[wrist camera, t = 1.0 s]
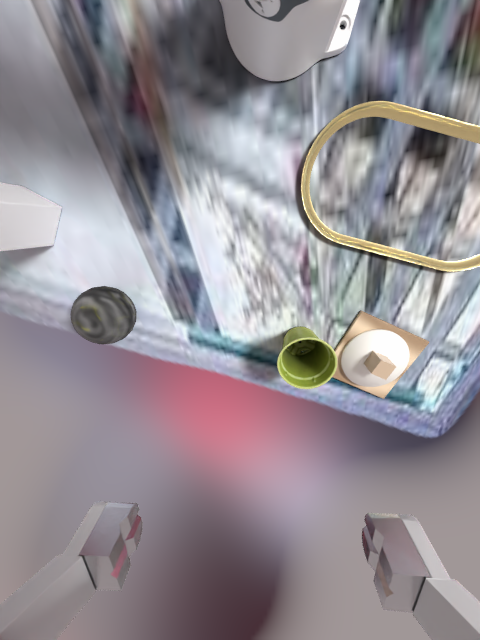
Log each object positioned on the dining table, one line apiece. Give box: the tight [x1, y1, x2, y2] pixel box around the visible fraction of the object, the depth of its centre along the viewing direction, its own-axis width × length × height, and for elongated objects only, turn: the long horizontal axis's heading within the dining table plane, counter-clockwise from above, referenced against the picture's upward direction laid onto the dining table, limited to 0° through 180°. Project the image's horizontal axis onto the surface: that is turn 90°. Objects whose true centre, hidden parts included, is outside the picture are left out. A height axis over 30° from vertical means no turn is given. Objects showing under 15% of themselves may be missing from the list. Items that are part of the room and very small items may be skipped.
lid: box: [341, 329, 410, 387], centre depth 46 cm, size 12×12×4 cm
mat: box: [332, 311, 429, 399], centre depth 48 cm, size 14×14×1 cm
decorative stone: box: [71, 286, 136, 344], centre depth 44 cm, size 10×10×10 cm
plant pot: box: [277, 327, 337, 389], centre depth 44 cm, size 9×9×9 cm
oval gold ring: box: [301, 101, 480, 271], centre depth 38 cm, size 19×35×2 cm, turn 76°
